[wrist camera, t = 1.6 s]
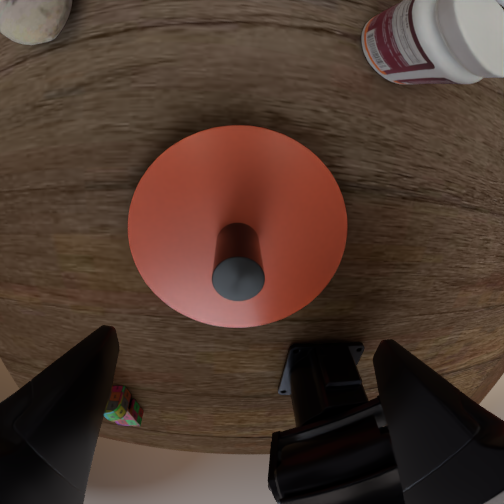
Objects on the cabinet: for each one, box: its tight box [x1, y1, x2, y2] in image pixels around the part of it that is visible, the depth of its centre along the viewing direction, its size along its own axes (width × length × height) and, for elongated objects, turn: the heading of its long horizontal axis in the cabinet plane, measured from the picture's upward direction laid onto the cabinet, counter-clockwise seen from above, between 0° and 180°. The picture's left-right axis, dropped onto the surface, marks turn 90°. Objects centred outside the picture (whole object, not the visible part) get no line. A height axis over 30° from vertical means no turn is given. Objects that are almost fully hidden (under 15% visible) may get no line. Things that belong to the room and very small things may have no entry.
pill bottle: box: [361, 0, 504, 84], centre depth 9 cm, size 5×5×8 cm
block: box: [104, 386, 143, 426], centre depth 24 cm, size 6×4×3 cm
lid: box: [128, 125, 348, 328], centre depth 16 cm, size 13×13×5 cm
